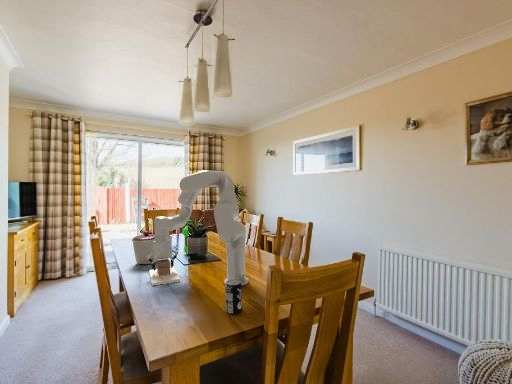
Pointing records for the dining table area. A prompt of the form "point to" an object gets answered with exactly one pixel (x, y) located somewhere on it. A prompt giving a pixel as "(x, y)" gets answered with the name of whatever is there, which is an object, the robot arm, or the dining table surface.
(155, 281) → the board
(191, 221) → the plastic bottle
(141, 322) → the dining table surface
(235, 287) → the beverage can
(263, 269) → the dining table surface
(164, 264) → the block
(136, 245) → the canister
